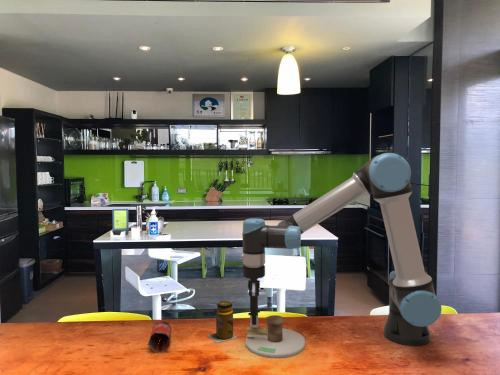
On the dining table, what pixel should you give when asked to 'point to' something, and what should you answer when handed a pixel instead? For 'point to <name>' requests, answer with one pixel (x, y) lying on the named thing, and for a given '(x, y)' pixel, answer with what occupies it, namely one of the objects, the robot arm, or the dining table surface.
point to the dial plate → (276, 345)
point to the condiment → (223, 323)
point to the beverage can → (160, 336)
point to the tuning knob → (270, 329)
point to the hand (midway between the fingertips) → (254, 332)
